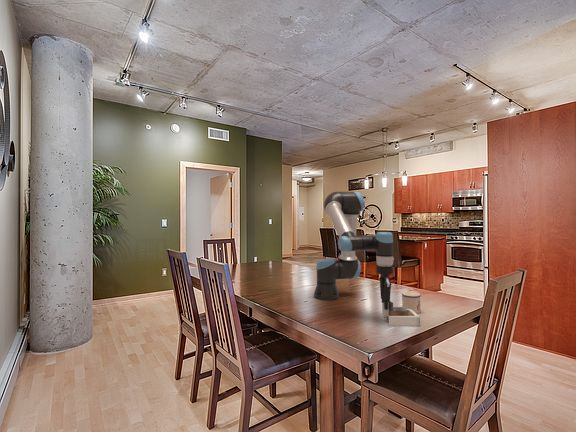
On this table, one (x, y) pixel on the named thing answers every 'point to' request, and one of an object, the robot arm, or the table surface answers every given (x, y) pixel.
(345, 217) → the robot arm
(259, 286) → the table surface
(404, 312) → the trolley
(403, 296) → the teacup with lid
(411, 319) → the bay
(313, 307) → the table surface
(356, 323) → the table surface
